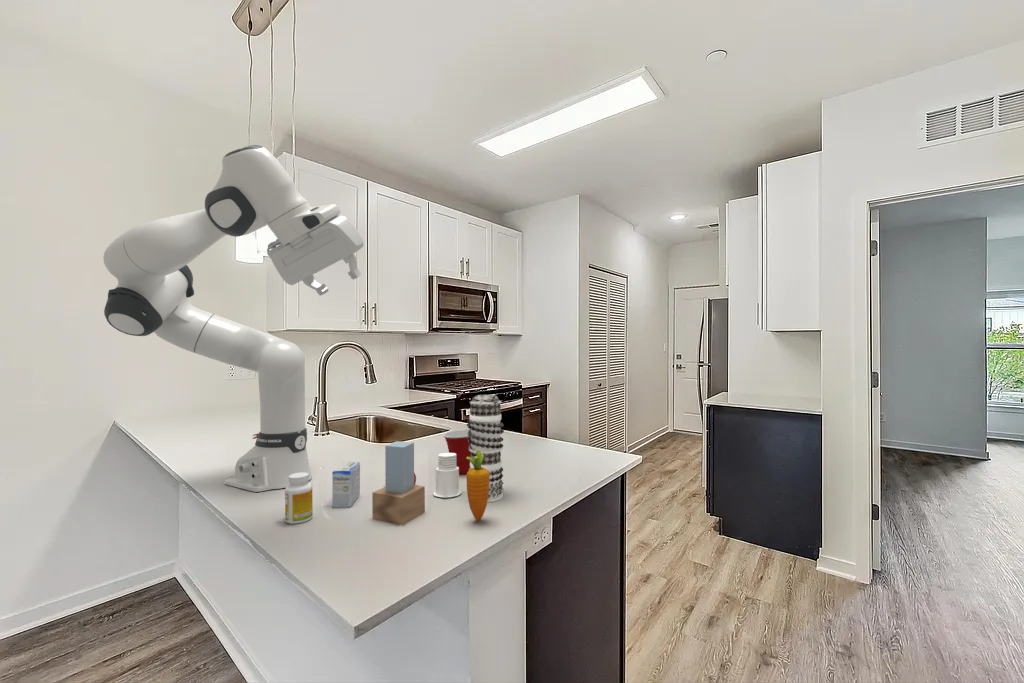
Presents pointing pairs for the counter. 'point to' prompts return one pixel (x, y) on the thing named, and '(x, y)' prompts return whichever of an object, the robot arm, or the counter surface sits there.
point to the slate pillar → (399, 467)
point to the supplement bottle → (298, 499)
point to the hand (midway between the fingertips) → (340, 285)
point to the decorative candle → (487, 439)
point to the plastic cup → (459, 448)
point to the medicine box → (345, 484)
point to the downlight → (447, 476)
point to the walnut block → (398, 505)
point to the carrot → (477, 486)
